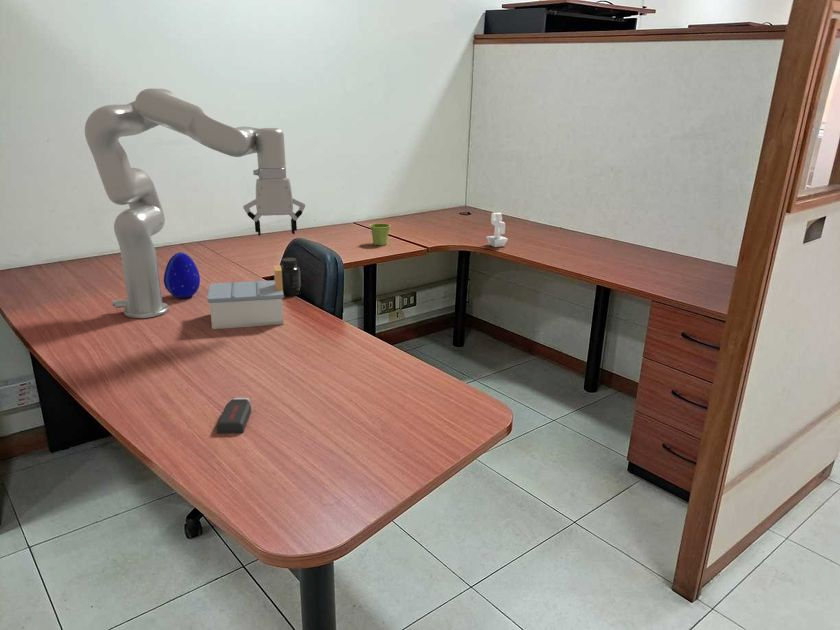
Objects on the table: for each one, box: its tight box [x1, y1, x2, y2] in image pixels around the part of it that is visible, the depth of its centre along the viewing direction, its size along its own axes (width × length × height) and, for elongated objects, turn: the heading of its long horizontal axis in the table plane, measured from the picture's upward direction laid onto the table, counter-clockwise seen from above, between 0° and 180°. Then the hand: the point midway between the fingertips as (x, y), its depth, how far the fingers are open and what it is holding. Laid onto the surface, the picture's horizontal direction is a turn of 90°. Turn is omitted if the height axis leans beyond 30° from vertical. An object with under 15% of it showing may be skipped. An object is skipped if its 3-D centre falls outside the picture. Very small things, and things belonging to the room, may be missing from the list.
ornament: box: [163, 251, 201, 299], centre depth 201 cm, size 11×9×15 cm
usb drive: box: [216, 397, 252, 434], centre depth 130 cm, size 5×12×3 cm, turn 4°
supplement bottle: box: [281, 257, 301, 297], centre depth 207 cm, size 7×7×12 cm
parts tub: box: [209, 298, 284, 330], centre depth 185 cm, size 20×14×8 cm
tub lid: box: [206, 264, 285, 303], centre depth 182 cm, size 21×15×7 cm
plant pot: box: [369, 222, 391, 247], centre depth 278 cm, size 9×9×9 cm
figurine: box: [486, 212, 509, 248], centre depth 280 cm, size 7×9×15 cm
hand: (276, 233), depth 180 cm, fingers open, 9 cm apart
